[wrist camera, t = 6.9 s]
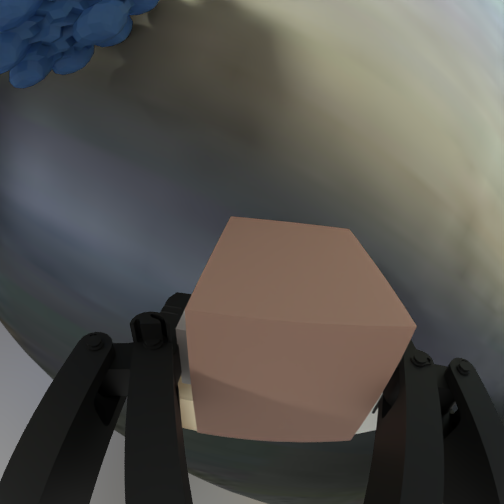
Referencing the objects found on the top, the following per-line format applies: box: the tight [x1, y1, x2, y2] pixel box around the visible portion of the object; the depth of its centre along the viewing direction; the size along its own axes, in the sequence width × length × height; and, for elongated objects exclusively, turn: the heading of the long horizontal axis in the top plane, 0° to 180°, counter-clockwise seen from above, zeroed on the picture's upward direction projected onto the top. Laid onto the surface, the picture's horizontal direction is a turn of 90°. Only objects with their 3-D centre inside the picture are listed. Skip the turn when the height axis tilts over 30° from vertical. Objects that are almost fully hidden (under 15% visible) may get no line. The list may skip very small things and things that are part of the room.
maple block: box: [178, 376, 197, 431], centre depth 23 cm, size 5×5×5 cm
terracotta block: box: [185, 216, 417, 442], centre depth 11 cm, size 6×6×8 cm
